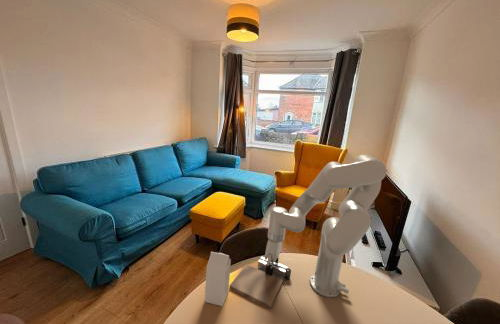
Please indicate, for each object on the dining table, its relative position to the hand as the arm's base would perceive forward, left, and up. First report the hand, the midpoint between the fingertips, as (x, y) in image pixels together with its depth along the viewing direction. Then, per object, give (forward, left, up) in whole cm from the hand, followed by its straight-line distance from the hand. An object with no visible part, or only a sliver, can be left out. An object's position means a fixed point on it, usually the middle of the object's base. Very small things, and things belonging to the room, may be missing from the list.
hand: (271, 268), depth 97 cm
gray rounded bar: (-1, 0, -2) cm, 2 cm away
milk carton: (+13, +24, -2) cm, 28 cm away
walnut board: (+2, +11, -2) cm, 11 cm away
